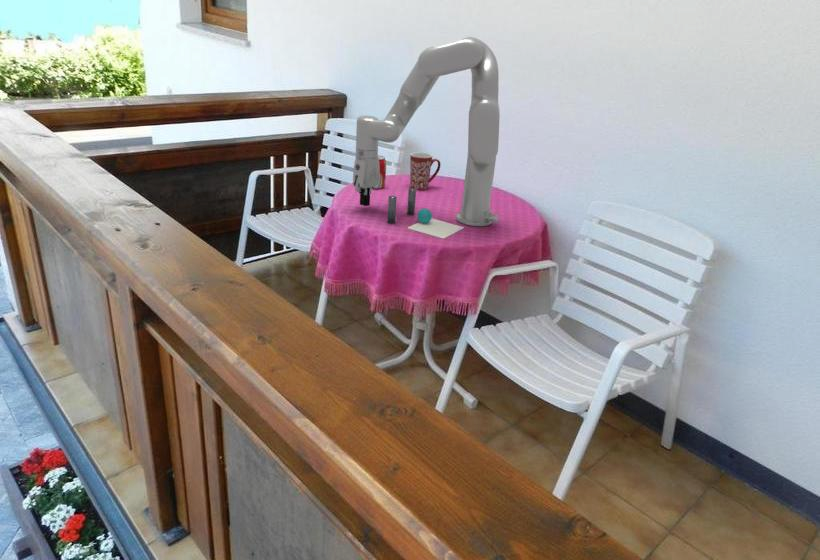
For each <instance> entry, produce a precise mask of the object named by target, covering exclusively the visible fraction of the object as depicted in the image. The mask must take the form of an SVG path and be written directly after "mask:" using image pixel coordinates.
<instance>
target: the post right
mask: <svg viewBox="0 0 820 560" xmlns="http://www.w3.org/2000/svg"><path fill="white" fill-rule="evenodd" d="M407 192H408V195H407V206H406V207H407V210H406V215H408V216H414V215H415V209H416V199H417V198H416V197H417V190H416V189H414V188H408V191H407Z"/></svg>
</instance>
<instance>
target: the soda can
mask: <svg viewBox="0 0 820 560" xmlns="http://www.w3.org/2000/svg"><path fill="white" fill-rule="evenodd" d="M378 158H379V166H380V180H379V183H378V184H377V185H375V186H374V187H373V188H372V189H374V190H376V189H377V190H381V189H383V188H384V187H385V186H386V179H387V178H386V177H387V161H386V156H383V155H378ZM380 188H381V189H380Z"/></svg>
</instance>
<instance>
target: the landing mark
mask: <svg viewBox="0 0 820 560" xmlns="http://www.w3.org/2000/svg"><path fill="white" fill-rule="evenodd" d="M406 229H408V230H410V231H414V232H418V233H422V234H424V235H429V236H432V237H435V238H439V239H442V240H445V239H446V238H449V237H450V236H452V235H454V234H456V233H457V232H459V231H462V230H463V229H465V227H464V226H461V225H459V224H458V225H457V224H454V223H449V222H446V221H443V220H439V219H437V218H432V219H431V220H430V222H428V223H421V222H420V221H418V222H417V223H414V224H412V225H410V226H407V227H406Z"/></svg>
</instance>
